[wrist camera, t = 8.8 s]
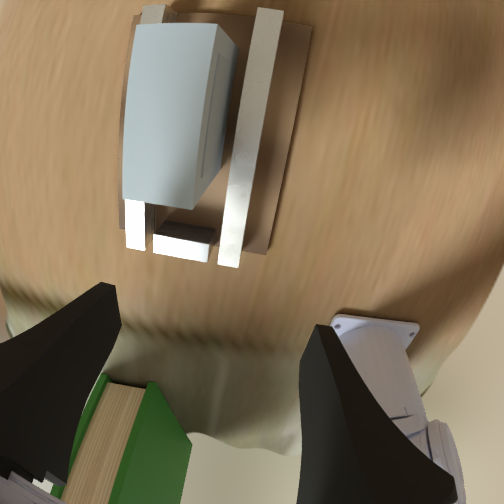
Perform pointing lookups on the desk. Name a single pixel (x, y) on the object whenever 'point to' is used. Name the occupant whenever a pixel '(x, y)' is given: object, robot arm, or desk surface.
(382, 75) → the desk surface
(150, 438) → the hardback book
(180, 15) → the track floor
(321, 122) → the desk surface
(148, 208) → the track rails
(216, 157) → the pale blue rectangular block
